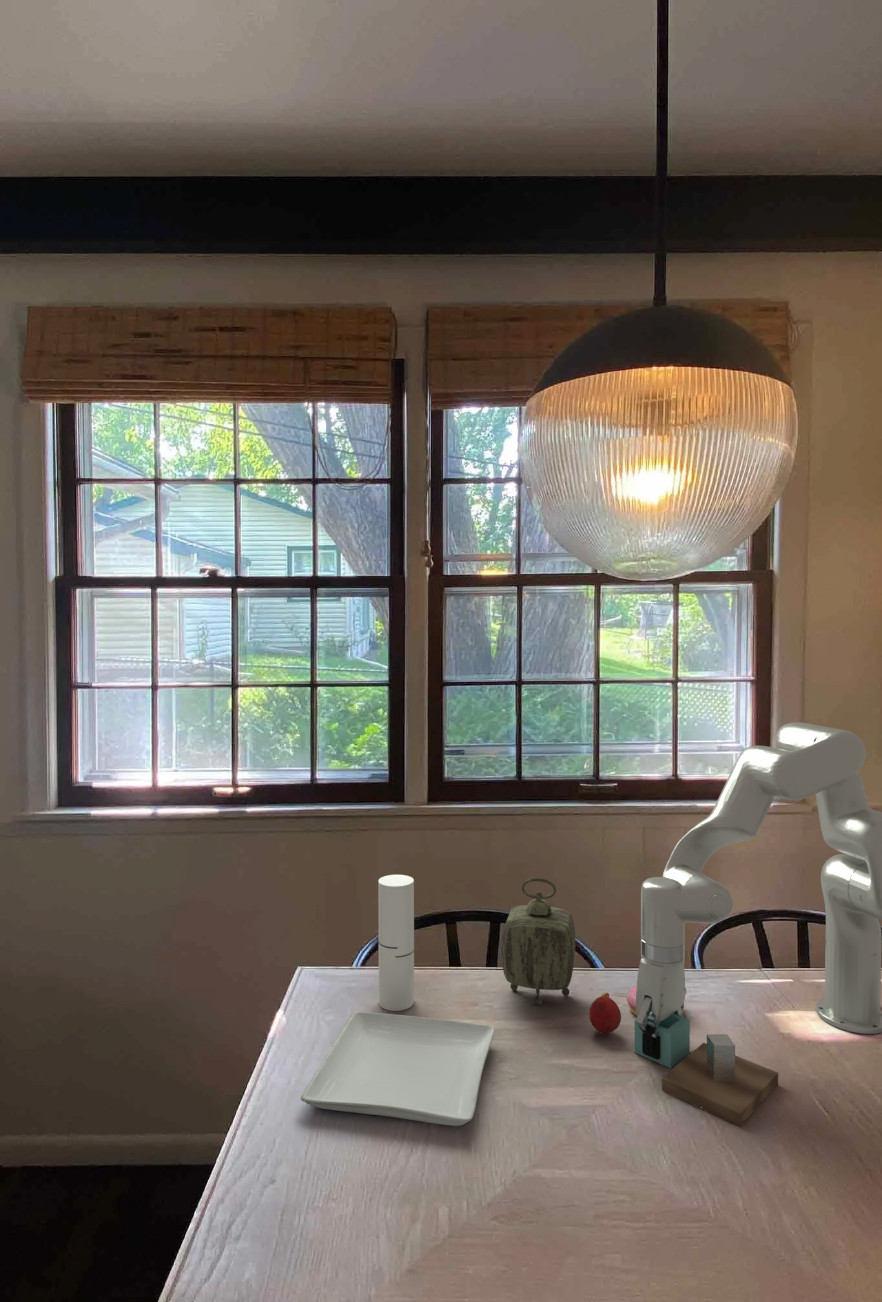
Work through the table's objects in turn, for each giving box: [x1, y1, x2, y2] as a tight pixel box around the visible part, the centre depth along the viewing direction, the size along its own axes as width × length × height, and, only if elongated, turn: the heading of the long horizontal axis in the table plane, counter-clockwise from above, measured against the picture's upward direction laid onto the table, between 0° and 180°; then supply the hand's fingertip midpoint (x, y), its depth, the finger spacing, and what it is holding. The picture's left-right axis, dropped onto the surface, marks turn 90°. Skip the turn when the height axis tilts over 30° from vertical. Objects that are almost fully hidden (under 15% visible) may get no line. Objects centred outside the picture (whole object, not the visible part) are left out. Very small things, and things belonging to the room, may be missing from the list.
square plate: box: [300, 1011, 495, 1127], centre depth 129 cm, size 27×27×4 cm
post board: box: [661, 1033, 779, 1127], centre depth 125 cm, size 15×13×8 cm
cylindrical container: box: [378, 874, 415, 1012], centre depth 154 cm, size 7×7×25 cm
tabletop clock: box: [500, 877, 577, 1006], centre depth 155 cm, size 14×9×25 cm, turn 77°
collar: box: [634, 1012, 691, 1069], centre depth 136 cm, size 7×7×6 cm
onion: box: [588, 991, 622, 1036], centre depth 141 cm, size 6×6×8 cm
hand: (662, 1046), depth 136 cm, fingers closed on collar, 7 cm apart
